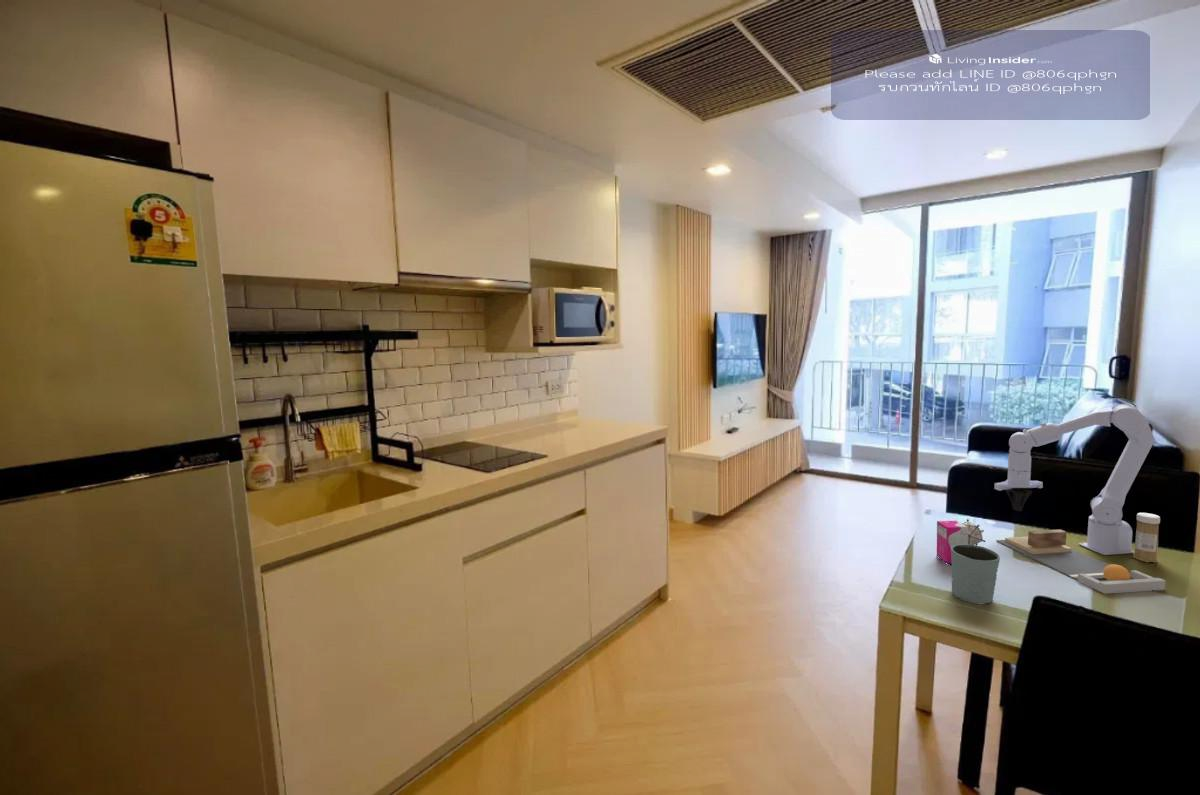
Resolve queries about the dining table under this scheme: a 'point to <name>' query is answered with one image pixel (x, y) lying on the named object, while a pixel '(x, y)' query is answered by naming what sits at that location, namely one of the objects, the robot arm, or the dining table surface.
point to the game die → (973, 533)
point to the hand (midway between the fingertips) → (1017, 510)
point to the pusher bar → (1047, 538)
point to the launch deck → (1083, 567)
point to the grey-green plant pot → (973, 572)
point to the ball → (1116, 573)
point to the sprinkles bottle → (1147, 537)
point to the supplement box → (949, 538)
